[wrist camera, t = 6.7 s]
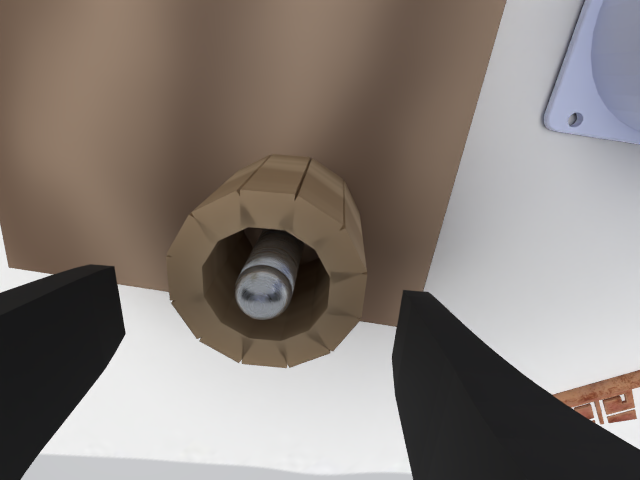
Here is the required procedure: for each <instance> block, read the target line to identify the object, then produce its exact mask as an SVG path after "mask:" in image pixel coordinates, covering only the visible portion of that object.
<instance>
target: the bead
mask: <svg viewBox="0 0 640 480" xmlns="http://www.w3.org/2000/svg"><path fill="white" fill-rule="evenodd" d="M248 227H254V228H265V229H277V230H285V231H287V232H288V233H290V234H292V235H293V236H295V237H296V238H298V239H299V240H301V241H303V242H304V243H306V244H307V245H309V246H310V247H312V248H314V249H315V250H316V252H317V254H318V256H319V258H317V259H315V260H312V261H310V262H308V263H305V264H303V265H300V266H299V269H298V273H297V277H296V282H295V286H294V290H293V295H292V299H291V301H290V304H289V305H288V307H287V308H286V310H285V311H284V312H283V313H281V314H280V315H279V316H277V317H275V318H272V319H268V320H258V319H254V318H251V317H249V316H248V315H246V314H245V313H244V312H243V311H242V310H241V309H240V308H239V306H238V304H237V302H236V299H235V292H234V290H235V284H236V281H237V279H238V277H239V275H240V273H241V271H242V269H243V267H244V265H245V263H246V261H247V259H248V257H249V256H250V254H251V252H252V250H253V247H252V245H251V243H250V242H249V240H248V238H247V237H246V235H245V233H244V229H245V228H248ZM167 254H168V255H167V256H166V264H167V274H168V285H169V295H170V300H173V301H172V302H171V304H172V305H173V306H174V308H175V309H176V310H177V312H178V313H179V315H180V316H181V317H182V319H183V320H184V322H185V323H186V324H187V326H188V327H189V329H190V330H191V331H192V333H193V334H194V336H195V337H196V338H197V339H198V338H201V339H200V342H202V343H204V344H206V345H207V346H209V347H211V348H213V349H215V350H216V351H218V352H220V353H222V354H224V355H225V356H227V357H229V358H231V359H233V360H234V361H236V362H238V363H239V362H240V361H241V360H242V364H249V365H259V366H270V367H281V368H287V364H288V366H289V368H290V367H293V366H296V365H299V364H301V363H304V362H307V361H310V360H313V359H315V358H318V357H321V356H324V355H327V354H329V353H330V350H331V351H334V350H335V348H336V347H337V346H338V345H339V344H340V343H341V342H342V340H343V339H344V338H345V337H346V336H347V335H348V334H349V332H350V331H351V330H352V329H353V328H354V327H355V326H356V324H357V323H358V322H359V321H360V317H362V311H363V303H364V296H365V288H366V281H367V268H366V260H365V252H364V244H363V236H362V228H361V220H360V213H359V210H358V208H357V206H356V204H355V202H354V200H353V198H352V196H351V193H350V191H349V189H348V187H347V185H346V183H345V181H344V182H343V179H342V178H341V177H339V176H338V175H336V174H335V173H334V172H332V171H331V170H329V169H328V168H326V167H325V166H323V165H322V164H320V163H319V162H318V161H316V160H315V159H313V158H312V159H311V161H310V157H302V156H290V155H278V154H272V155H268V156H266V157H264V158H262V159H260V160H258V161H256V162H254V163H252V164H250V165H248V166H246V167H244V168H242V169H240V170H238V171H237V172H236V173H235V174H234V175H233V176H232V177H230V178H229V179H228V180H227V181H226V182H225V183H224V184H223V185H221V186H220V187H219V188H218V189H217V190H216V191H215V192H214V193H212V194H211V195H210V196H209V197H208V198H207V199H206V200H205V201H203V202H202V203H201V204H200V205H199V206H198V207H197V208H196V209H194V210H193V211H192V212H191V213H190V214H189V215H188V217H187V219H186V220H185V222H184V224H183V226H182V227H181V229H180V231H179V233H178V234H177V236H176V238H175V240H174V241H173V243H172V245H171V247H170V249H169V250H168V252H167Z"/></svg>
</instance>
